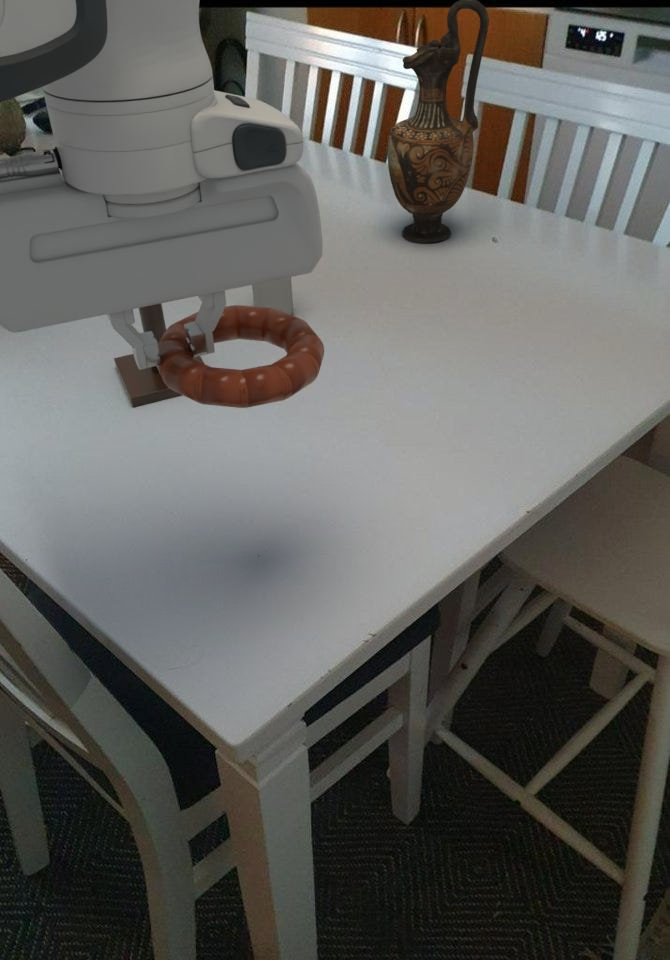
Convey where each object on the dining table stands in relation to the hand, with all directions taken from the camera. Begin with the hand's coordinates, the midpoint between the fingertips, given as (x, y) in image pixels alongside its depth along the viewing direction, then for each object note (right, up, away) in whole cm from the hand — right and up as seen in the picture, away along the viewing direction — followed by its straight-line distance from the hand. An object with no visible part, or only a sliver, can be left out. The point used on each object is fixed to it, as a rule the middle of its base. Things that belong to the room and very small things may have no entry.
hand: (175, 357), depth 53 cm
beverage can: (+3, +12, +47) cm, 49 cm away
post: (-9, +3, +37) cm, 38 cm away
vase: (+24, +27, +65) cm, 74 cm away
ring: (+4, 0, +2) cm, 4 cm away
